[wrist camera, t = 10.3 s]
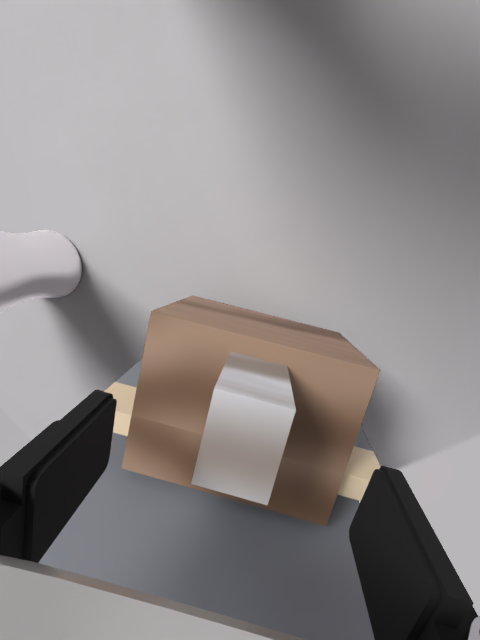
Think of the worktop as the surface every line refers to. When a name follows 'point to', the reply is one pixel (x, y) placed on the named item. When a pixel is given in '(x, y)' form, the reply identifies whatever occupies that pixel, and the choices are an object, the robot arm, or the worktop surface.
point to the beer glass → (36, 267)
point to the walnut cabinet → (248, 407)
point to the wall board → (220, 545)
